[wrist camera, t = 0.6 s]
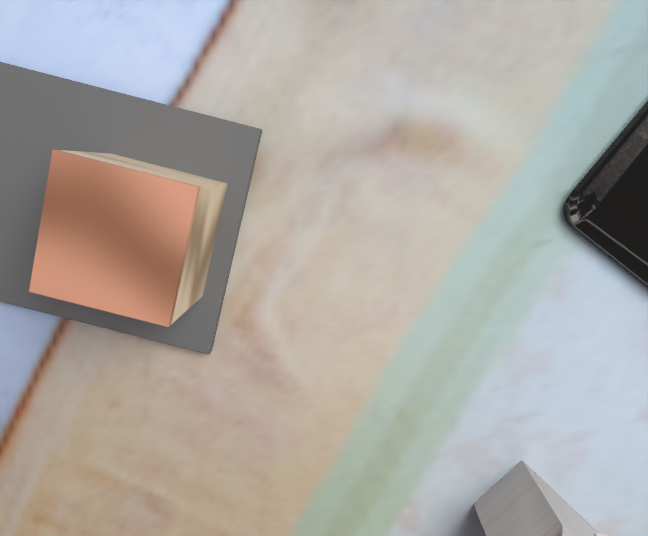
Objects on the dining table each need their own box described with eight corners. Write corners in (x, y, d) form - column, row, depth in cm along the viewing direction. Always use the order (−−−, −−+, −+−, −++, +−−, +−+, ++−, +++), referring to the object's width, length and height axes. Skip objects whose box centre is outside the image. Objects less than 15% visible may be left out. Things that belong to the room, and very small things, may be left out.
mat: (211, 350, 31) (209, 354, 31) (-150, 259, 31) (-160, 260, 30) (262, 130, 29) (260, 129, 28) (-125, 30, 29) (-135, 27, 28)
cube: (202, 296, 30) (168, 327, 24) (90, 267, 30) (28, 291, 24) (227, 183, 29) (198, 186, 23) (111, 153, 29) (52, 149, 23)
